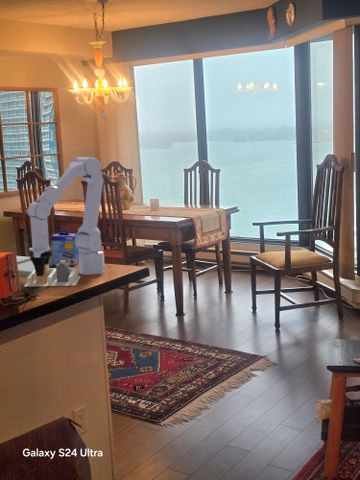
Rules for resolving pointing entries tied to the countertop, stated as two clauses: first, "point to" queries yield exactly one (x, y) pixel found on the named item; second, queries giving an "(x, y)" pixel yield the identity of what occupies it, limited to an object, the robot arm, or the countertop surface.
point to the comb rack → (54, 278)
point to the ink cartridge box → (64, 248)
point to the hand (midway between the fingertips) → (42, 273)
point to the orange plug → (45, 277)
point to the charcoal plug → (62, 271)
